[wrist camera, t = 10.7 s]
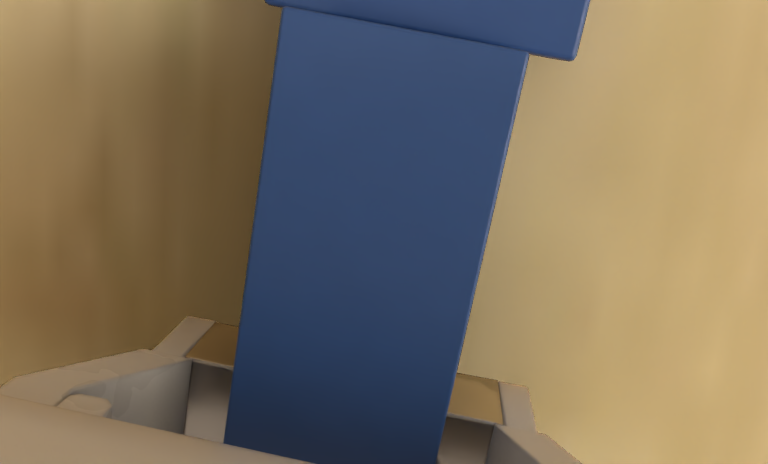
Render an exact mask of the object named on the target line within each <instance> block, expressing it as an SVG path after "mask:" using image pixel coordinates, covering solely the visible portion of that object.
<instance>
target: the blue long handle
mask: <svg viewBox="0 0 768 464" xmlns="http://www.w3.org/2000/svg"><path fill="white" fill-rule="evenodd" d="M265 3H267V4H268V5H271V6H276V7H280V8H282V11H281V19H280V26H279V33H278V41H277V48H276V56H275V63H274V70H273V78H272V85H271V93H270V100H269V108H268V115H267V122H266V130H265V137H264V145H263V152H262V159H261V167H260V174H259V182H258V189H257V196H256V204H255V211H254V219H253V226H252V234H251V241H250V248H249V256H248V263H247V271H246V278H245V285H244V293H243V300H242V308H241V315H240V323H239V330H238V337H237V345H236V352H235V360H234V367H233V374H232V382H231V389H230V397H229V404H228V411H227V419H226V426H225V434H224V441H223V443H224V444H229V445H233V446H238V447H242V448H247V449H251V450H256V451H260V452H265V453H270V454H274V455H279V456H283V457H288V458H292V459H297V460H301V461H306V462H311V463H315V464H436V460H437V456H438V451H439V447H440V443H441V438H442V434H443V430H444V425H445V421H446V416H447V412H448V408H449V403H450V399H451V395H452V390H453V386H454V382H455V377H456V373H457V369H458V364H459V360H460V355H461V351H462V347H463V342H464V338H465V334H466V329H467V325H468V321H469V316H470V312H471V307H472V303H473V299H474V294H475V290H476V286H477V281H478V277H479V273H480V268H481V264H482V260H483V255H484V251H485V246H486V242H487V238H488V233H489V229H490V225H491V220H492V216H493V212H494V207H495V203H496V199H497V194H498V190H499V185H500V181H501V177H502V172H503V168H504V164H505V159H506V155H507V151H508V146H509V142H510V137H511V133H512V129H513V124H514V120H515V116H516V111H517V107H518V103H519V98H520V94H521V90H522V85H523V81H524V76H525V72H526V68H527V63H528V59H529V54H531V55H536V56H541V57H547V58H552V59H557V60H564V61H572V60H574V59H575V57H576V56H577V52H578V48H579V44H580V40H581V36H582V32H583V28H584V24H585V20H586V16H587V12H588V7H589V3H590V0H265Z"/></svg>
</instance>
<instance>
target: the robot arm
mask: <svg viewBox="0 0 768 464" xmlns="http://www.w3.org/2000/svg"><path fill="white" fill-rule="evenodd" d="M238 330H239V327H236V326H232V325H227V324H223V323H218V322H216V321H214V320H208V319H202V318H197V317H191V316H187V317H186V318H185V319H183V320H182V321H181V322H180V323H179V324H178V325H177V326H176V327H175V328H174V329H173V330H172V331H171V332H170V333H169V334H168V335H167V336H166V337H165V338H164V339H163V340H162V341H161V342H160V343H159V344H158V345H157V346H156V347H155V348H154V349H153V350H148V349H139V350H135V351H130V352H126V353H121V354H117V355H112V356H107V357H103V358H98V359H94V360H89V361H84V362H80V363H75V364H71V365H66V366H62V367H57V368H52V369H48V370H43V371H39V372H34V373H29V374H25V375H20V376H16V377H13V378H11V379H10V380H9V381H7V382H6V383H5V384H3V385H2V386H1V387H0V464H315V463H311V462H306V461H301V460H297V459H292V458H288V457H283V456H279V455H274V454H270V453H265V452H260V451H256V450H251V449H247V448H242V447H238V446H233V445H229V444H224V443H223V441H224V434H225V426H226V419H227V411H228V404H229V397H230V389H231V382H232V374H233V367H234V360H235V352H236V345H237V337H238ZM436 464H582V463H581V462H579V461H578V460H577V459H576V458H574V457H573V456H572V455H571V454H570V453H568V452H567V451H566V450H565V449H563V448H562V447H561V446H560V445H558V444H557V443H556V442H555V441H553V440H552V439H551V438H550V437H548V436H547V435H546V434H541V433H538V431H537V427H536V422H535V418H534V413H533V409H532V404H531V400H530V395H529V391H528V388H527V387H526V386H521V385H516V384H510V383H504V382H498V380H493V379H487V378H482V377H477V376H471V375H466V374H461V373H456V377H455V382H454V386H453V390H452V395H451V399H450V403H449V408H448V412H447V416H446V421H445V425H444V430H443V434H442V438H441V443H440V447H439V451H438V456H437V460H436Z"/></svg>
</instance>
